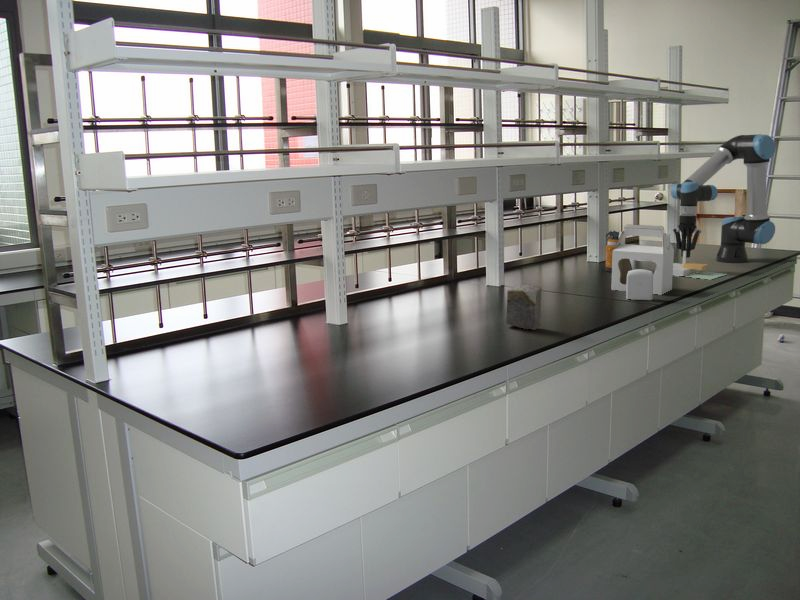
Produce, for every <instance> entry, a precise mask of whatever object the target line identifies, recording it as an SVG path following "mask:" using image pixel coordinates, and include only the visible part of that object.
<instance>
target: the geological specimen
mask: <svg viewBox="0 0 800 600" xmlns="http://www.w3.org/2000/svg"><path fill="white" fill-rule="evenodd" d="M506 295H507V296H506V320H505V322H506V323H505V325H507V326H510V327H511V326H512V327H513V326H514V327H517V328H519V329H521V328H523V329H522V330H528V329H531V330H533V331H536V330H537V329H539V327H540V326H541V317H542V316H541V315H542V314H541V313H542V312H541V311H542V310H541V308H542V307H541V306H542V304H541V301H542V286H541V287H540V286H539V285H531V284H527V285H525V284H522V285H516V286H512V287H510V288H509V289H508V290H507V293H506ZM531 330H530V331H531Z"/></svg>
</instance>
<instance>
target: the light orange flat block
mask: <svg viewBox="0 0 800 600" xmlns="http://www.w3.org/2000/svg"><path fill="white" fill-rule="evenodd" d="M708 267H709V264H708V263H699V262H693V261H691V262H689V261H688V263H685V264H684V266H683V268H689V269H696V270H701V271H703V270H708Z"/></svg>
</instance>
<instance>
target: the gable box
mask: <svg viewBox="0 0 800 600" xmlns="http://www.w3.org/2000/svg"><path fill="white" fill-rule="evenodd" d="M618 232H619V239H618V241H617V243H616V245H615V247H614V249H613V257H612V272H611V285H610V287H611V288H610V289H611V291H615V290H618V291H617V292H625V291H626V287H627V286H626V285H627V274H628V271H631V270H633V267H632V263H631V260H633V261H638V262H653V263H655V265H656V266H655V268H656V270H654V272H653V273H652V274H653V294H658V295H657V296H663V295H665V294H666V292H667V293H668V291H669V292H671V291H672V290H673V277H674V276H673V263H674V259H675V258H674V255H675V249H674V247H673V245H672V242H671V236H670V235H671V234H670V233H665V227H664V226H663V225H646V224H626V225H624V229H623V231H621V230H620V231H618ZM627 236H629V237H630V236H635V237H637V236H638V237H651V238H652V237H653V238H661V239H662V242H661V243H662V244H661V245H648V244H633V243H626V238H627ZM670 290H671V291H670ZM664 293H665V294H664ZM662 294H663V295H662Z"/></svg>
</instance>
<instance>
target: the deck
mask: <svg viewBox="0 0 800 600" xmlns="http://www.w3.org/2000/svg"><path fill="white" fill-rule="evenodd" d="M683 266H684V264H682V263H677V262H673V275H674V276H673V277H679V276H687V275H690V274H693V273H696V272H700V271H701V272H702V270H696V269H689V268H683ZM655 270H656V267H655ZM655 270H654V271H655Z"/></svg>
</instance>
